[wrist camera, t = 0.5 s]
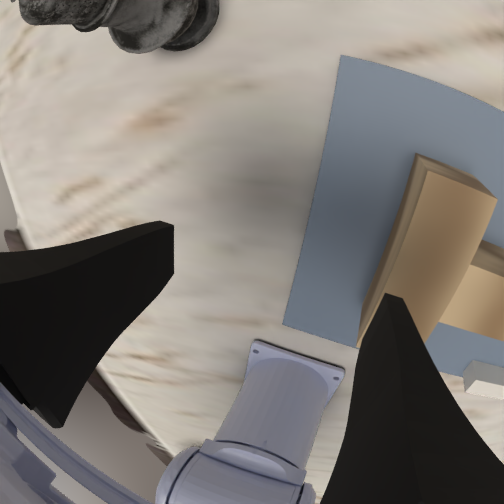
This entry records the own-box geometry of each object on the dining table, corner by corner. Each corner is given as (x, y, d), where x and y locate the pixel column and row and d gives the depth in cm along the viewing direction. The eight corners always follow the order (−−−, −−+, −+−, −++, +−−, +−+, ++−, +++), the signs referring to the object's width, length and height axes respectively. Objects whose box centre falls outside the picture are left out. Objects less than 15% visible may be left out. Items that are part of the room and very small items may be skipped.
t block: (362, 303, 19) (355, 346, 16) (415, 152, 14) (427, 170, 11) (489, 341, 17) (498, 384, 13) (558, 218, 11) (588, 249, 8)
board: (527, 386, 17) (529, 391, 17) (284, 319, 23) (282, 324, 22) (633, 208, 7) (637, 211, 7) (342, 56, 13) (340, 54, 13)
